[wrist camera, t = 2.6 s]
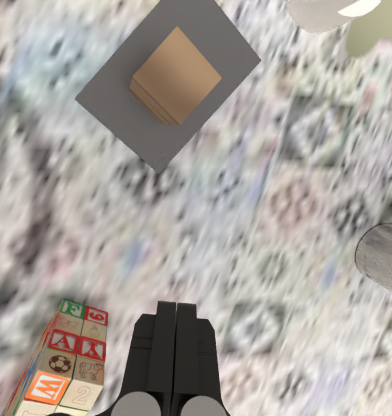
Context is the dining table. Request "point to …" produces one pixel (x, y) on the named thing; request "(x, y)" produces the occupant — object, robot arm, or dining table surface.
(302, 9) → the cylinder with rectangular tab
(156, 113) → the walnut block
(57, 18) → the dining table surface
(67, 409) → the stack of blocks
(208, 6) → the rubber mat
